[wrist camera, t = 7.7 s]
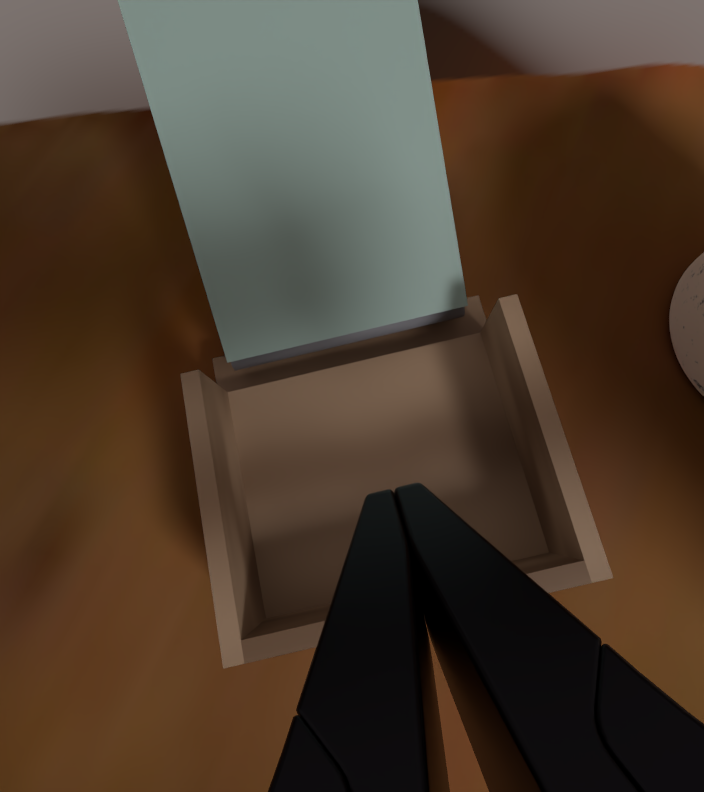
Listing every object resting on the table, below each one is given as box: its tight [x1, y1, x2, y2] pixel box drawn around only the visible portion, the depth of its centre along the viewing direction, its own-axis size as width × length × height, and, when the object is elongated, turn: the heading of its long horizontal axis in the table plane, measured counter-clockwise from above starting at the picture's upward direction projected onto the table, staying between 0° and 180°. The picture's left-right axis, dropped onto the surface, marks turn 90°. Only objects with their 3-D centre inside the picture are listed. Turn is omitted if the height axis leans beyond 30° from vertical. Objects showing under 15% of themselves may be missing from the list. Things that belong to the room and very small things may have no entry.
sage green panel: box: [118, 0, 468, 371], centre depth 17 cm, size 2×9×12 cm
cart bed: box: [180, 294, 613, 669], centre depth 17 cm, size 10×11×5 cm
